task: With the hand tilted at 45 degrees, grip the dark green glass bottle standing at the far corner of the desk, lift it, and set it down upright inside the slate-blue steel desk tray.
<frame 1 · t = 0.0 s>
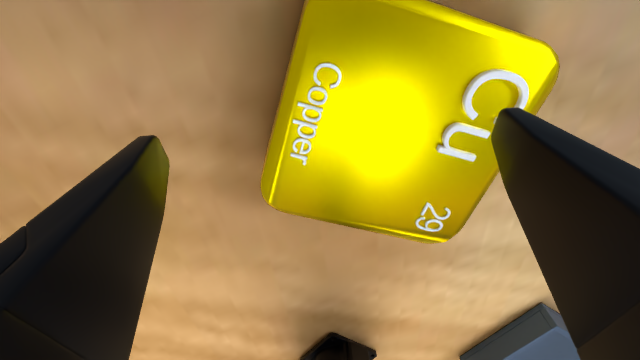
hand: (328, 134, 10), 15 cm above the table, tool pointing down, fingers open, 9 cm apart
element tile: (385, 112, 26), on the table
tray: (541, 355, 42), on the table
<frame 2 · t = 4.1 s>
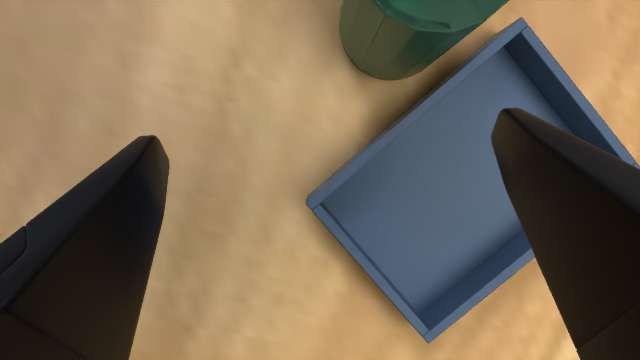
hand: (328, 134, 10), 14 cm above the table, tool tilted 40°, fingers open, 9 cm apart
tray: (455, 182, 24), on the table
bottle: (391, 26, 23), on the table
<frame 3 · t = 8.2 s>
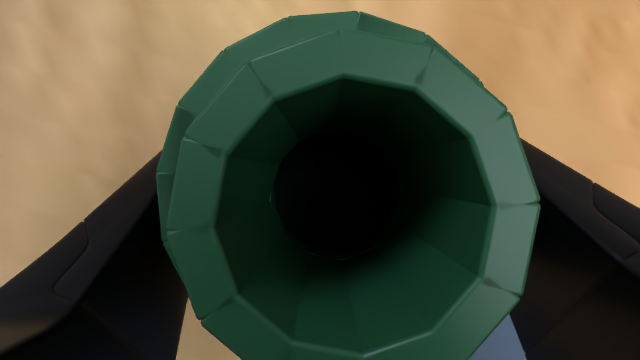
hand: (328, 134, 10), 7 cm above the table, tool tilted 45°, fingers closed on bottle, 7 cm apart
bottle: (327, 180, 16), on the table, touching gripper
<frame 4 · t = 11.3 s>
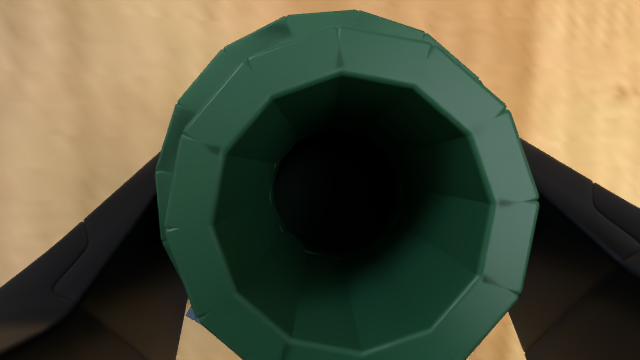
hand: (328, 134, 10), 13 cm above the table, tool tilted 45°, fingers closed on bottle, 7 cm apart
bottle: (327, 180, 16), point 7 cm above the table, touching gripper
when the fingers open (7 cm above the table, at t = 14.3 s): bottle stays where it is, resting on tray.
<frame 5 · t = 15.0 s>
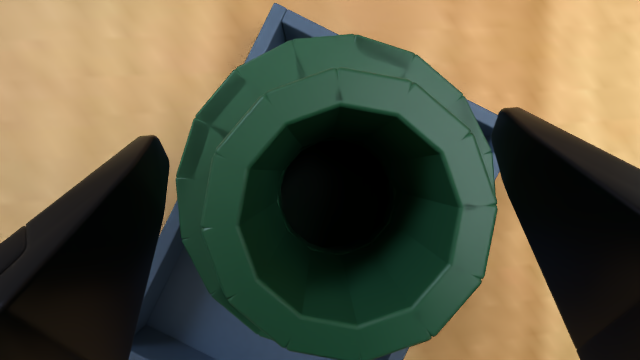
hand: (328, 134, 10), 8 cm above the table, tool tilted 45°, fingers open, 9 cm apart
tray: (312, 229, 18), on the table
bottle: (327, 182, 17), point 1 cm above the table, touching tray
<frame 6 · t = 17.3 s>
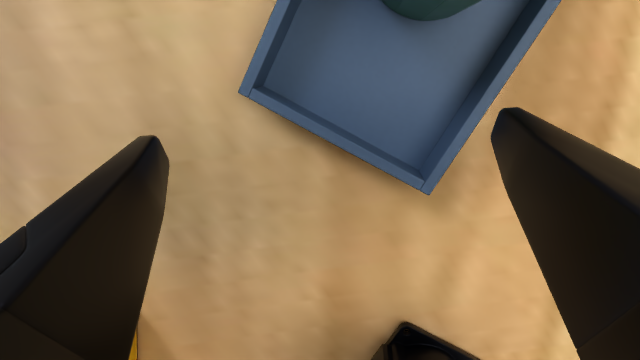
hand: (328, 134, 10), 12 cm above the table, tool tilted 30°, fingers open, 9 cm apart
element tile: (53, 355, 30), on the table
tray: (411, 1, 19), on the table
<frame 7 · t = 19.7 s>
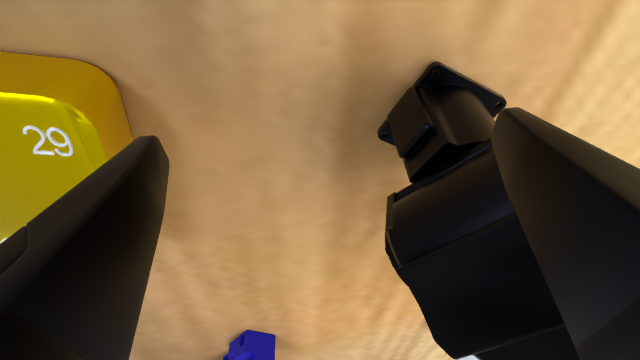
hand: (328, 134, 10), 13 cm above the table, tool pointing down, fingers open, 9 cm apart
element tile: (29, 144, 26), on the table
cable clip: (243, 344, 56), on the table
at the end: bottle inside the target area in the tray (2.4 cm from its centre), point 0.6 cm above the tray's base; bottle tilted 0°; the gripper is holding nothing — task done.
